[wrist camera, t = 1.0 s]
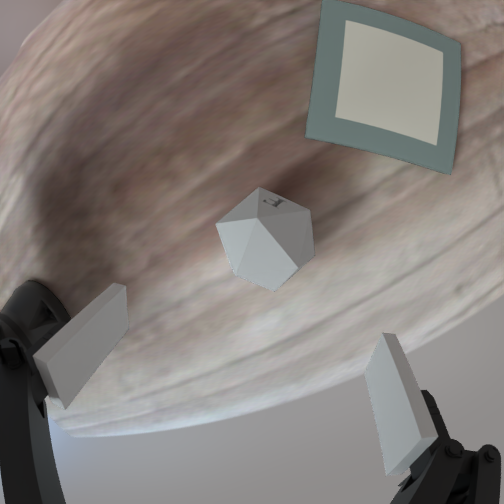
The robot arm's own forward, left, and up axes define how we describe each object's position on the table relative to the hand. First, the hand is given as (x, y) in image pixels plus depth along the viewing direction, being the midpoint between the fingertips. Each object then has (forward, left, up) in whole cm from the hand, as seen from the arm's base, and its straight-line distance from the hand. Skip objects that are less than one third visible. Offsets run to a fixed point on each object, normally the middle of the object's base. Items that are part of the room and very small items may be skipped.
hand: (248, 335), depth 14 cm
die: (0, 0, -19) cm, 19 cm away
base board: (+10, +18, -19) cm, 28 cm away
